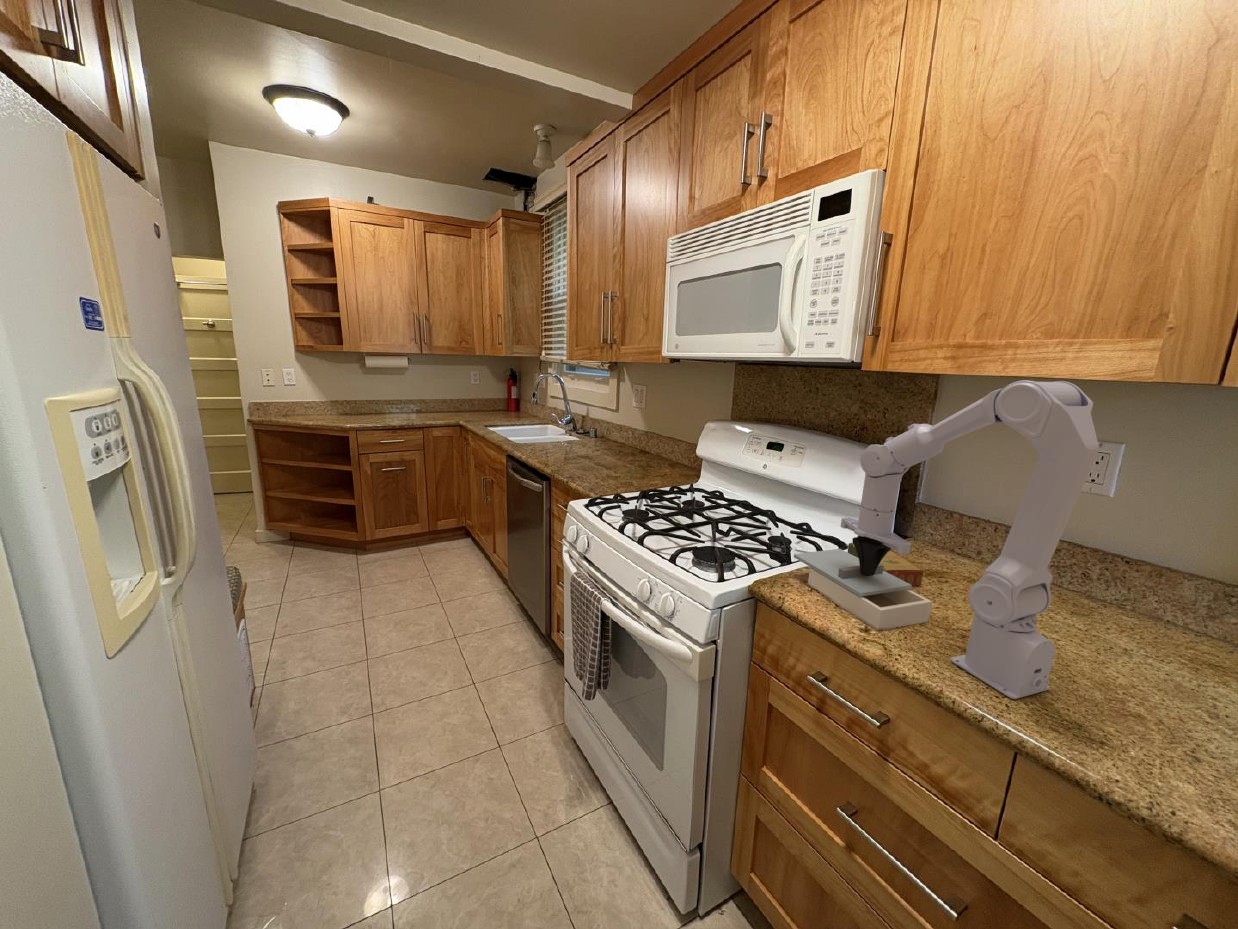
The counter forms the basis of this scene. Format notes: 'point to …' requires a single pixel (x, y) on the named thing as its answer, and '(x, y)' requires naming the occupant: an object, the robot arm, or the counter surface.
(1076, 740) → the counter surface
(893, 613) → the base
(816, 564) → the lid
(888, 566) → the carton
